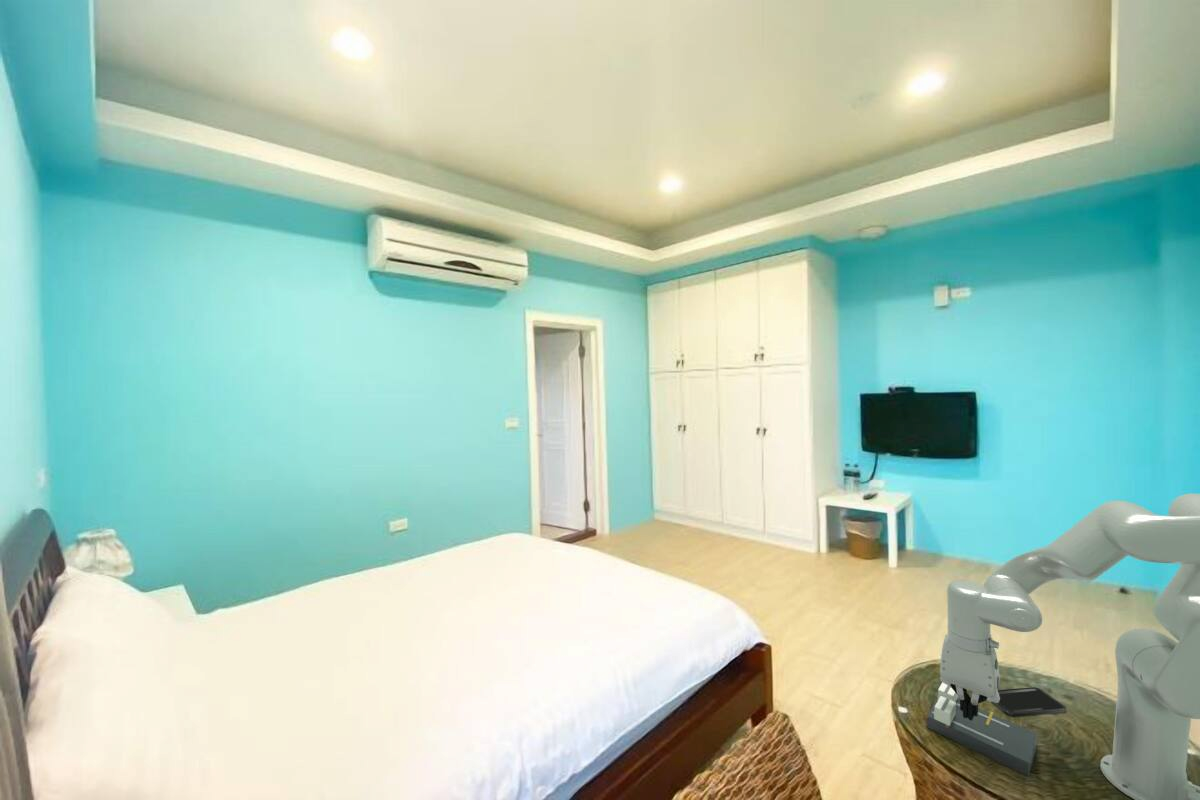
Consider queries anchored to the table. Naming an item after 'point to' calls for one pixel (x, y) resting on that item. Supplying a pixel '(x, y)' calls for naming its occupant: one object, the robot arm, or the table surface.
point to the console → (990, 737)
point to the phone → (1027, 702)
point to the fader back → (947, 692)
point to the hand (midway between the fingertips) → (969, 715)
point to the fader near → (945, 710)
